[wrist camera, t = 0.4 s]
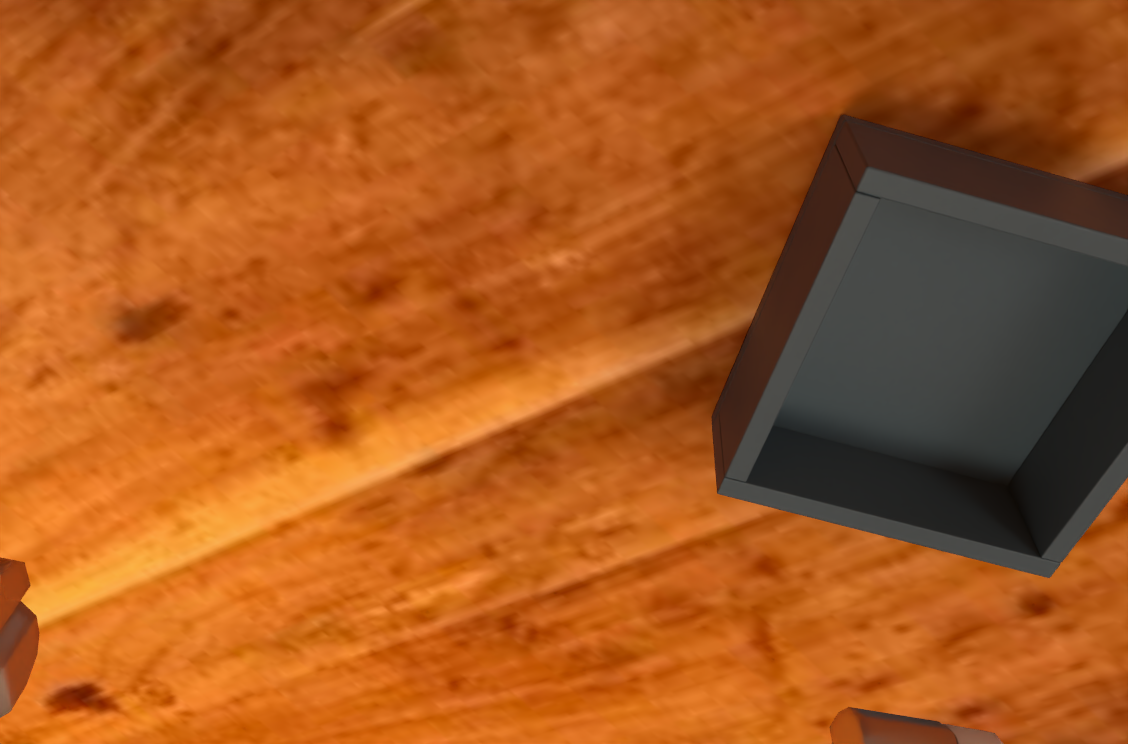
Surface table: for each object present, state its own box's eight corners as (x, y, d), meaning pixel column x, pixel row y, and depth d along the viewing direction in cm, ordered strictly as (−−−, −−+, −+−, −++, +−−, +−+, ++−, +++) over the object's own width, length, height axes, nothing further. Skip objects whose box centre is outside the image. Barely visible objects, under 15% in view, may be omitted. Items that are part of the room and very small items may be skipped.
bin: (841, 113, 30) (867, 166, 27) (1204, 216, 31) (1280, 282, 27) (710, 417, 37) (716, 494, 34) (1010, 495, 38) (1049, 578, 34)
